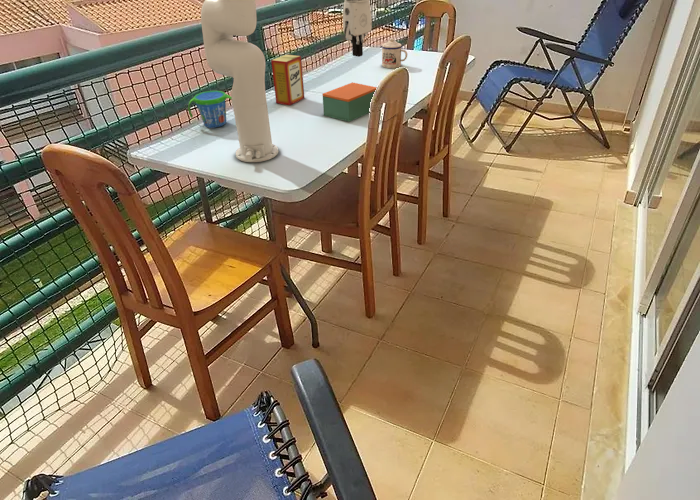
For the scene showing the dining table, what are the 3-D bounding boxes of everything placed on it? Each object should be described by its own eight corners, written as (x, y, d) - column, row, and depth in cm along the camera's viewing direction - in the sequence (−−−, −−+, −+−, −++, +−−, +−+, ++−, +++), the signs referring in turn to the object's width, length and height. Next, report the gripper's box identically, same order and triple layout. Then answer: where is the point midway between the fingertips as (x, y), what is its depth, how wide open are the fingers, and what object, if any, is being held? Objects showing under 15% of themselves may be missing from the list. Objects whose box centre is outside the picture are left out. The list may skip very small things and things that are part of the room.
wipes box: (351, 103, 184) (351, 85, 180) (376, 109, 177) (376, 90, 174) (323, 115, 174) (322, 96, 170) (349, 121, 168) (348, 102, 164)
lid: (352, 84, 180) (352, 82, 180) (377, 89, 174) (377, 87, 174) (322, 96, 170) (322, 93, 170) (348, 101, 164) (348, 99, 163)
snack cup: (189, 131, 165) (182, 101, 159) (195, 120, 174) (189, 91, 168) (236, 128, 166) (231, 98, 160) (239, 118, 174) (235, 89, 169)
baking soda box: (290, 105, 184) (285, 60, 175) (276, 103, 187) (271, 59, 178) (304, 98, 191) (300, 54, 182) (290, 96, 194) (286, 53, 185)
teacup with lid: (378, 67, 225) (378, 40, 218) (385, 62, 231) (386, 36, 225) (403, 69, 220) (404, 41, 214) (410, 64, 227) (411, 37, 220)
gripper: (350, 0, 151) (352, 62, 162) (379, -7, 160) (379, 52, 171) (331, -2, 155) (335, 59, 166) (361, -8, 164) (362, 49, 175)
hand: (357, 55), depth 168 cm, fingers closed
